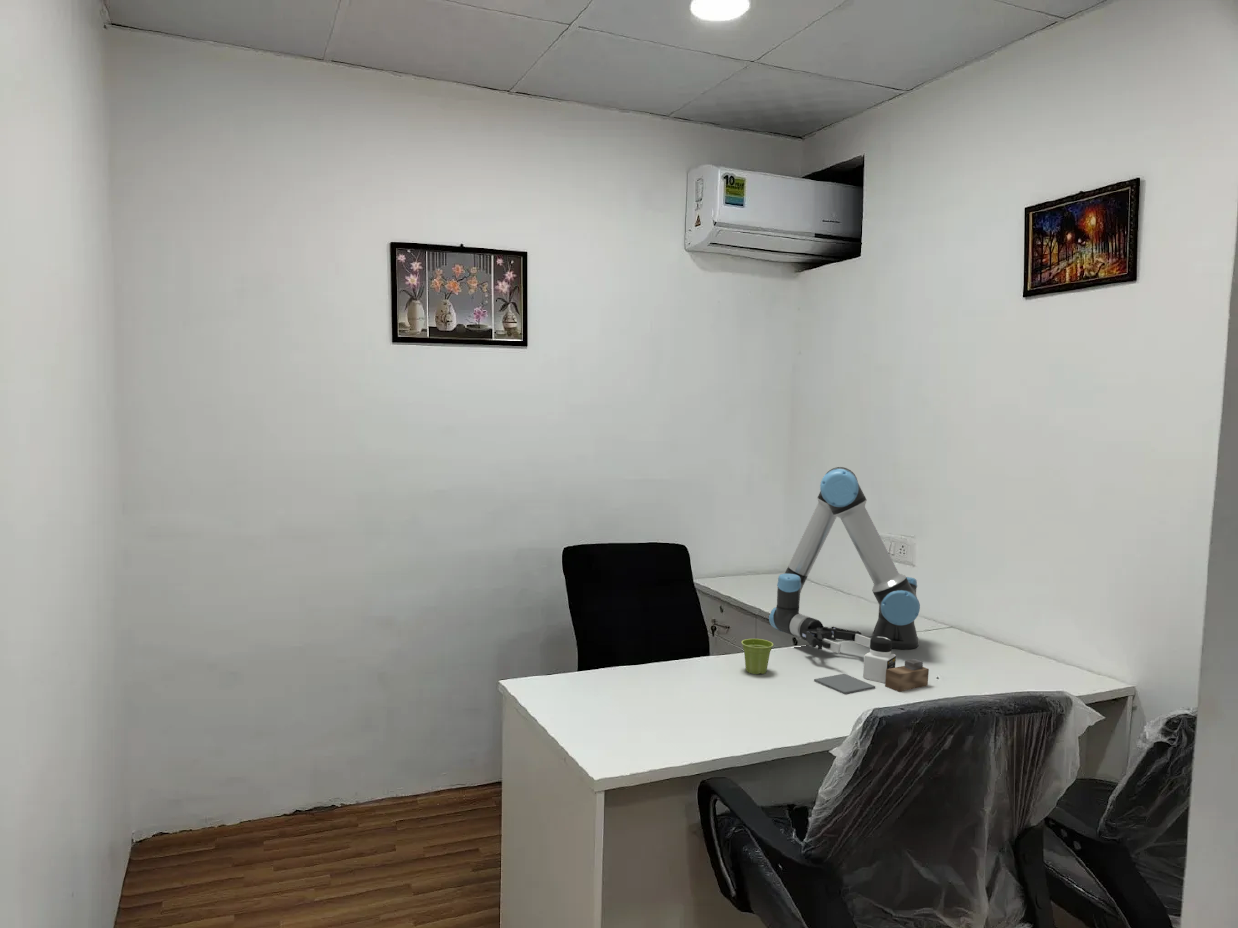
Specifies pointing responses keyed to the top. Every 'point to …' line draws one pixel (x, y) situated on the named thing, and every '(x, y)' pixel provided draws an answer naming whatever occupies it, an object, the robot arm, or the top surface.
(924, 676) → the plane body block
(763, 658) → the plant pot
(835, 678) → the mat
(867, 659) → the medicine bottle
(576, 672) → the top surface
